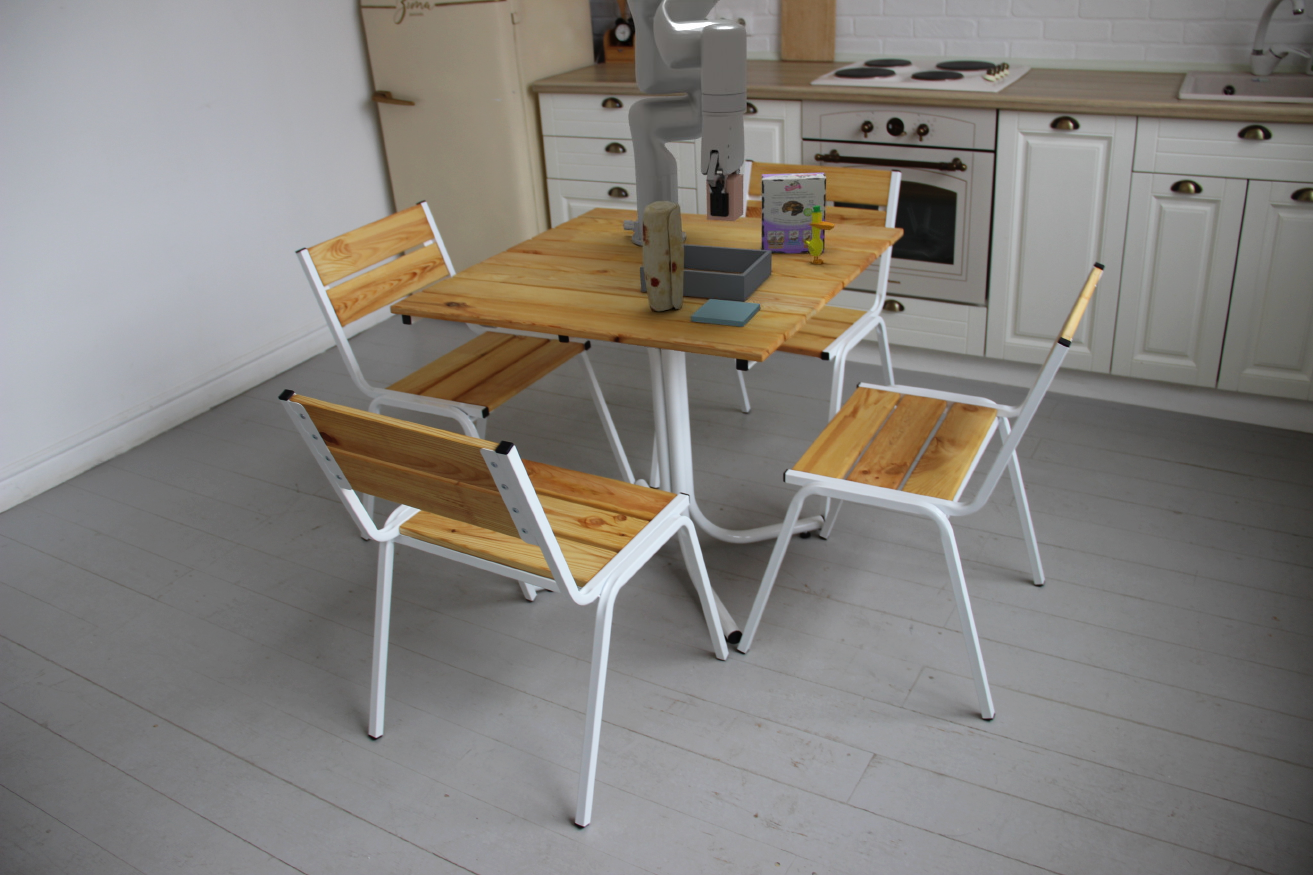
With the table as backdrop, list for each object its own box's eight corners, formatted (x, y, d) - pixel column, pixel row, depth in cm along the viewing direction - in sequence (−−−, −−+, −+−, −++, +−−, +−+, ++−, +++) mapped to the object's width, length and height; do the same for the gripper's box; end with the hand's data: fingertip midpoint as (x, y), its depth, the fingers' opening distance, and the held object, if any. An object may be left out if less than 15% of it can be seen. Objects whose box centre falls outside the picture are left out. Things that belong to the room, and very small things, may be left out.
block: (706, 219, 170) (706, 179, 167) (716, 212, 174) (716, 173, 171) (734, 221, 168) (733, 180, 165) (743, 214, 172) (743, 174, 169)
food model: (664, 297, 189) (660, 195, 180) (694, 302, 186) (691, 198, 177) (636, 313, 182) (631, 206, 173) (667, 318, 179) (662, 210, 170)
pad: (690, 321, 177) (690, 316, 177) (709, 303, 185) (709, 298, 185) (743, 326, 173) (743, 321, 173) (760, 308, 181) (760, 303, 181)
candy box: (822, 246, 217) (825, 171, 210) (824, 253, 212) (827, 177, 204) (760, 247, 218) (761, 173, 211) (760, 254, 213) (761, 178, 206)
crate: (640, 291, 194) (639, 267, 191) (674, 266, 208) (673, 243, 206) (744, 301, 186) (744, 276, 183) (771, 274, 200) (771, 250, 198)
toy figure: (836, 263, 205) (839, 206, 199) (827, 267, 202) (829, 210, 197) (809, 258, 209) (811, 202, 203) (800, 262, 206) (801, 206, 201)
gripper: (720, 96, 171) (721, 200, 179) (684, 111, 157) (687, 223, 165) (761, 97, 168) (760, 202, 176) (728, 112, 154) (729, 225, 162)
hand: (725, 211), depth 171 cm, fingers closed on block, 4 cm apart
